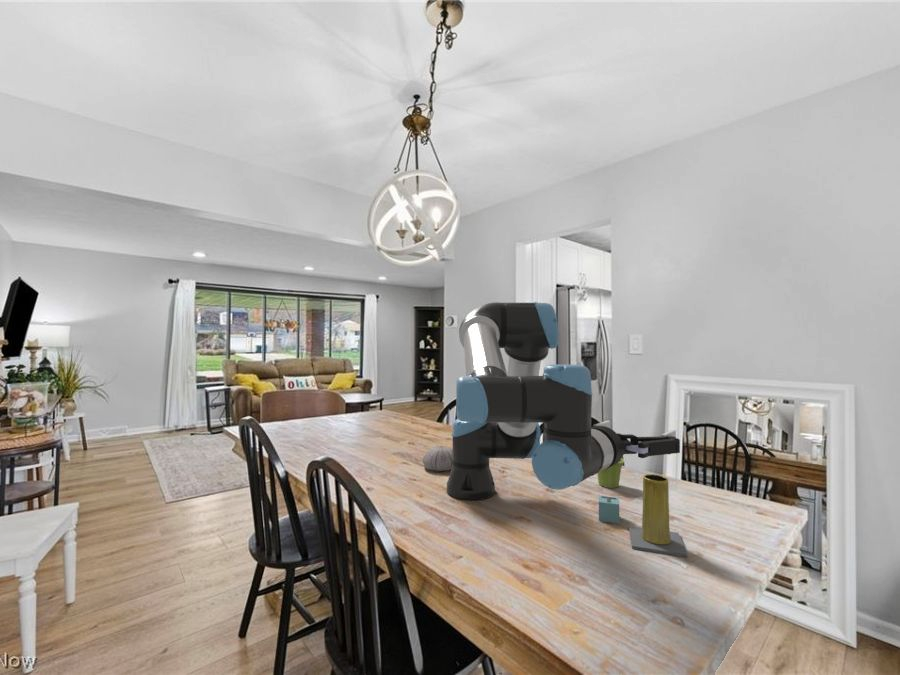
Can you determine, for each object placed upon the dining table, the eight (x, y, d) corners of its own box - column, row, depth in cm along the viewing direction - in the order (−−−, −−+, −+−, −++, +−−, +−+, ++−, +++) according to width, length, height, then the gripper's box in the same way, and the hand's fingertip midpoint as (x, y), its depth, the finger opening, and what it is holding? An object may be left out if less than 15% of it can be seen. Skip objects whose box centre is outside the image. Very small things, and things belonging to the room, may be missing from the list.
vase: (668, 535, 97) (667, 475, 98) (673, 547, 91) (672, 483, 92) (640, 531, 99) (639, 472, 100) (643, 543, 93) (642, 480, 94)
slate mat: (632, 548, 92) (632, 545, 92) (628, 528, 102) (628, 525, 102) (687, 557, 88) (687, 554, 88) (678, 535, 99) (678, 532, 99)
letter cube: (598, 521, 107) (598, 501, 107) (598, 513, 111) (598, 494, 112) (619, 524, 105) (619, 503, 105) (618, 516, 110) (618, 497, 110)
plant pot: (619, 480, 138) (618, 455, 139) (628, 490, 129) (628, 463, 129) (590, 479, 139) (590, 454, 140) (597, 489, 130) (597, 462, 130)
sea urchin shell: (417, 465, 156) (417, 444, 156) (448, 461, 162) (448, 441, 162) (432, 475, 144) (432, 452, 144) (465, 470, 150) (465, 448, 150)
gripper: (535, 456, 83) (585, 438, 98) (669, 487, 65) (705, 460, 80) (535, 419, 83) (585, 407, 98) (669, 440, 65) (705, 422, 80)
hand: (639, 431), depth 89 cm, fingers open, 13 cm apart
